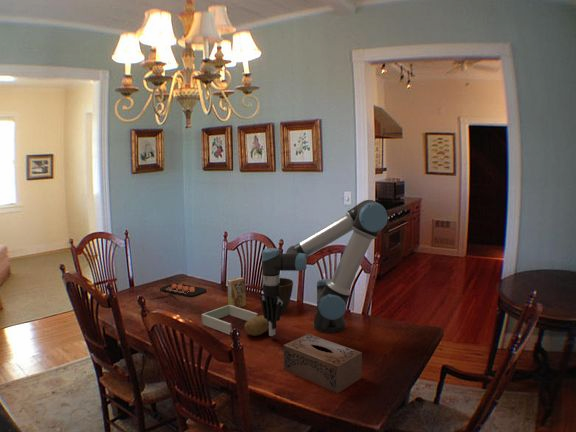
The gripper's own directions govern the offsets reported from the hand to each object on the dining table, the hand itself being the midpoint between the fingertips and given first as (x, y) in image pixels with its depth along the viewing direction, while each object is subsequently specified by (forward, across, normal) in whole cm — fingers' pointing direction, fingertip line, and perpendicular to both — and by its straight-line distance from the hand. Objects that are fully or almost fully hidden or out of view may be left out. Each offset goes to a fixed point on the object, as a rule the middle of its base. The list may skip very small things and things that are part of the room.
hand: (272, 334), depth 197 cm
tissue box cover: (+2, +36, -11) cm, 38 cm away
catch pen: (+2, -29, 0) cm, 29 cm away
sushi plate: (+3, -90, +10) cm, 91 cm away
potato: (+2, -9, 0) cm, 9 cm away
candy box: (+2, -44, +19) cm, 48 cm away
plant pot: (+2, -21, +28) cm, 35 cm away
